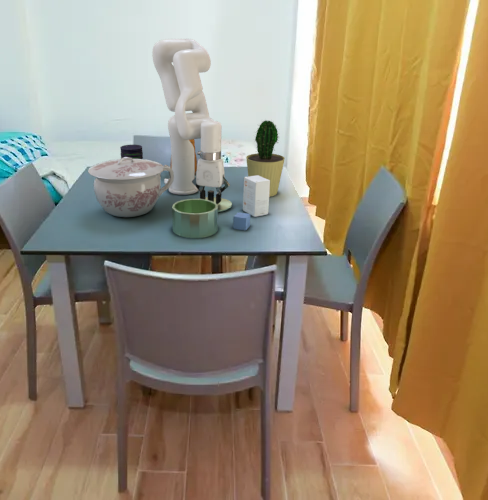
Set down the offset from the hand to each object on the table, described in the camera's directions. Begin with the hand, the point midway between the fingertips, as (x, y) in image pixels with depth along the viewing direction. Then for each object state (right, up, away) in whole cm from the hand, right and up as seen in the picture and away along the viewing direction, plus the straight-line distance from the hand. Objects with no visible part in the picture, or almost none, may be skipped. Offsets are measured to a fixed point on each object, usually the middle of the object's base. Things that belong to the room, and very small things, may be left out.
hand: (210, 201), depth 188 cm
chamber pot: (-31, -4, -3) cm, 31 cm away
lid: (0, -1, 0) cm, 1 cm away
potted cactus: (+23, +5, +15) cm, 28 cm away
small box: (+16, -5, -6) cm, 18 cm away
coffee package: (-11, +17, +43) cm, 48 cm away
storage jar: (-34, +13, +35) cm, 50 cm away
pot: (-6, -12, -21) cm, 24 cm away
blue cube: (+10, -11, -19) cm, 24 cm away
